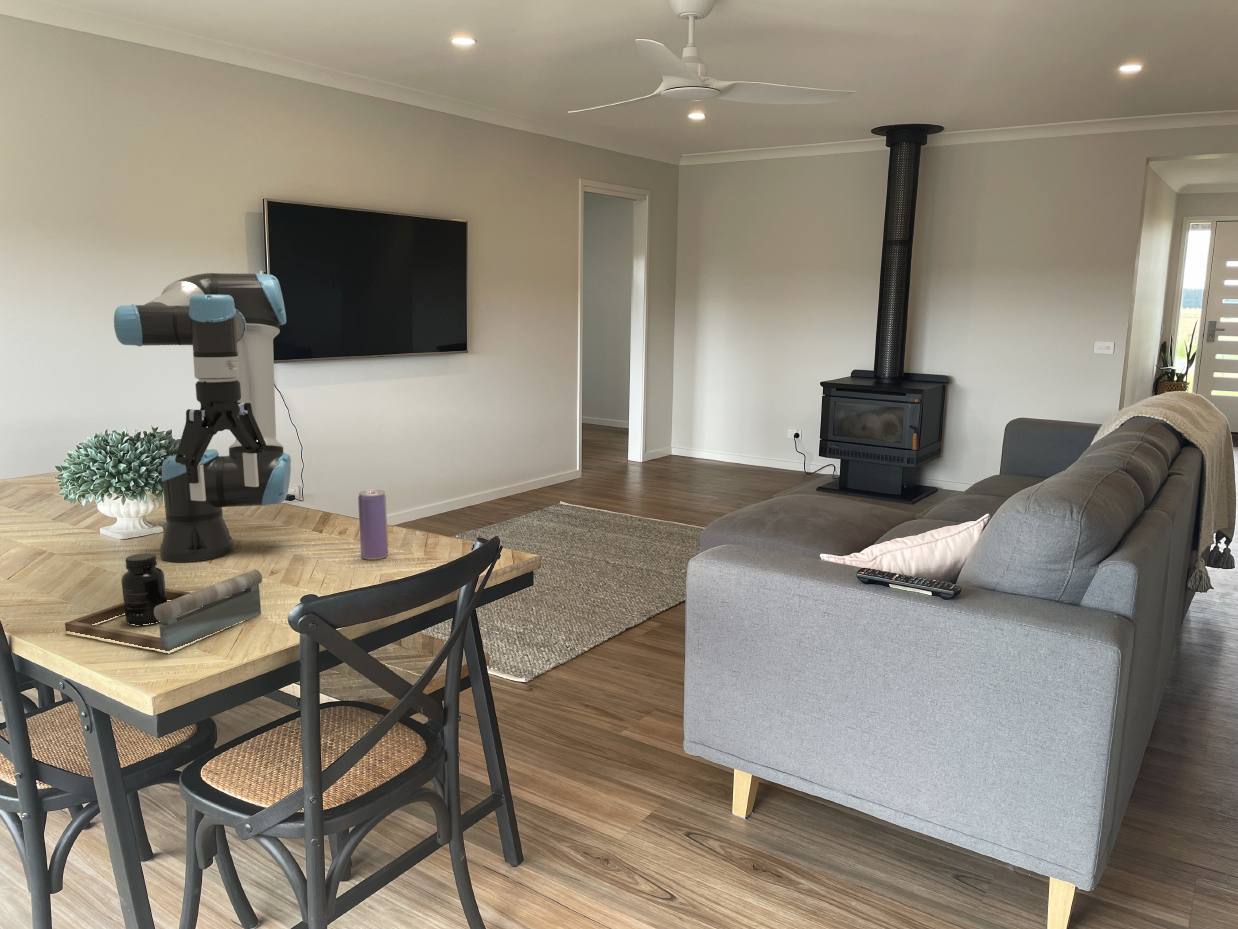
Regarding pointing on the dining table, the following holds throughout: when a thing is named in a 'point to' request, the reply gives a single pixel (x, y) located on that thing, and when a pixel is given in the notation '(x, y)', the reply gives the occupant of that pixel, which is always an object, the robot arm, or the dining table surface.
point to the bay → (189, 625)
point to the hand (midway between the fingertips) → (226, 493)
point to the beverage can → (373, 524)
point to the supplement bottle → (142, 588)
